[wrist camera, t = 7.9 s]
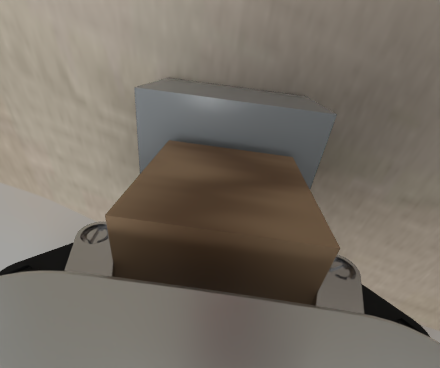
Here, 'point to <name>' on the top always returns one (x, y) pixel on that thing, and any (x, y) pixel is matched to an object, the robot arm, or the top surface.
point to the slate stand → (231, 121)
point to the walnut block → (222, 224)
